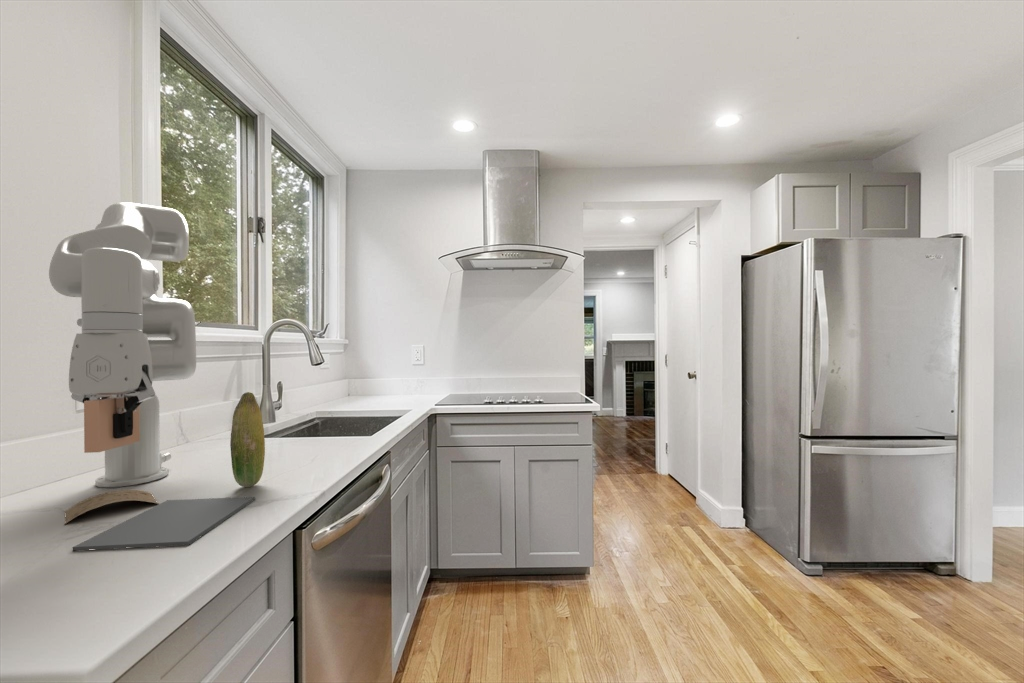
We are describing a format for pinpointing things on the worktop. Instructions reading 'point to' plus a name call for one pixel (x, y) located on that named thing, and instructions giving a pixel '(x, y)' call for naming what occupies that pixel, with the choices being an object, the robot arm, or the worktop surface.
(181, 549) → the worktop surface
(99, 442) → the block
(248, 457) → the vegetable
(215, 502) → the mat
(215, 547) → the worktop surface
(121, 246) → the robot arm
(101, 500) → the cork arch piece
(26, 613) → the worktop surface
